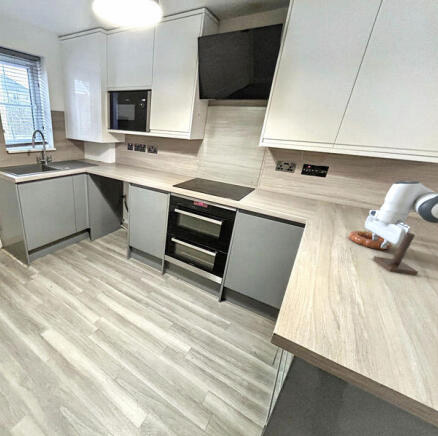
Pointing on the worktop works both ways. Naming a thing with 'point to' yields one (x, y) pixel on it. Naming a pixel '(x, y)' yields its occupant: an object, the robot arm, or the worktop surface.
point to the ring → (367, 239)
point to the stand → (398, 258)
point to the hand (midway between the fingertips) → (378, 245)
